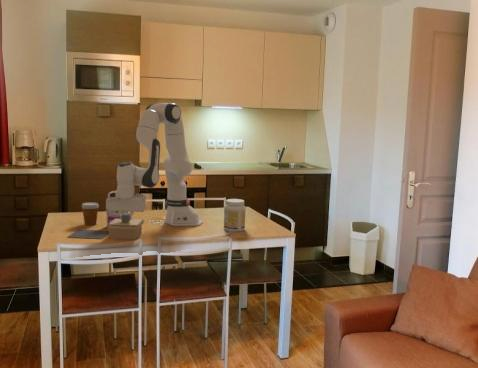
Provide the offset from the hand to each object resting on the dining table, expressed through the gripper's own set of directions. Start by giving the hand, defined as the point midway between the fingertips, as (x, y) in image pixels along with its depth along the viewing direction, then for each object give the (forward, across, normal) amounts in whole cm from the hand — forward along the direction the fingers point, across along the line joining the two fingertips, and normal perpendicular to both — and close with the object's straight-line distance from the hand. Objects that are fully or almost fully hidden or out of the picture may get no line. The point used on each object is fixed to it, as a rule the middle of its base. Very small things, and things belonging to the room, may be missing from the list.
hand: (126, 219), depth 256 cm
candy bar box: (+9, +10, -19) cm, 23 cm away
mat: (+9, +19, 0) cm, 21 cm away
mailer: (+9, 0, 0) cm, 9 cm away
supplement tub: (+10, -56, -24) cm, 61 cm away
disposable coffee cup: (+9, +26, -21) cm, 35 cm away
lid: (+3, 0, 0) cm, 3 cm away
